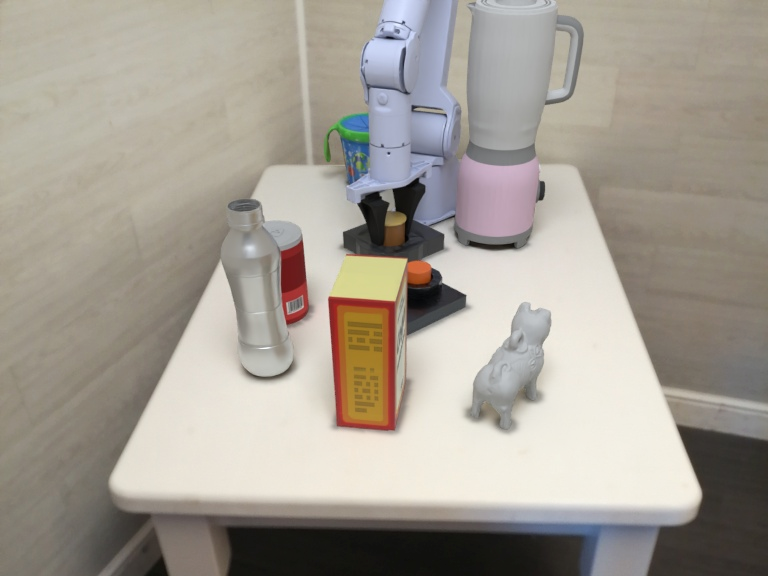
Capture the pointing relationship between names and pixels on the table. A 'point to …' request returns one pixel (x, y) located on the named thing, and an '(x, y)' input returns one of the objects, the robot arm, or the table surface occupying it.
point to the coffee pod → (394, 228)
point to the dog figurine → (513, 364)
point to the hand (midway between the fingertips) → (390, 237)
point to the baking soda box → (369, 340)
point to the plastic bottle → (256, 290)
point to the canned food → (291, 269)
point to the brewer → (431, 302)
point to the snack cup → (352, 144)
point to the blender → (509, 115)
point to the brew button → (419, 272)
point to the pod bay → (415, 247)
